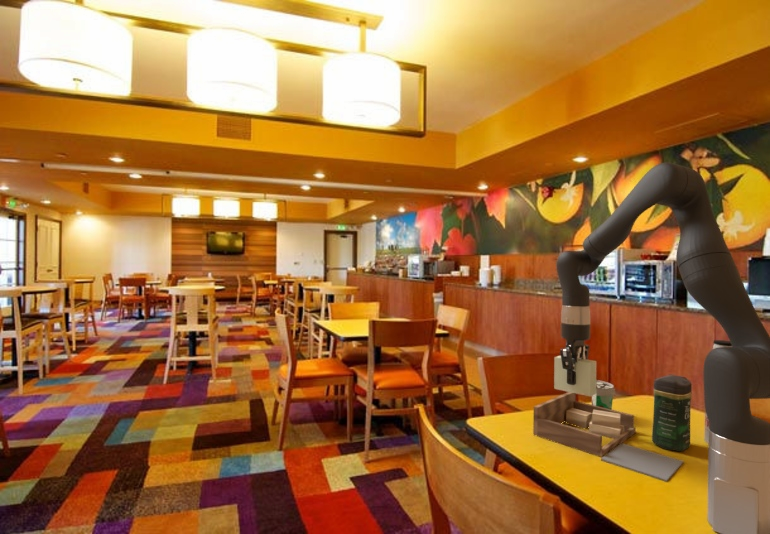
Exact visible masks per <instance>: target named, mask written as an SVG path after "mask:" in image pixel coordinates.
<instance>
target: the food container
mask: <svg viewBox="0 0 770 534" xmlns="http://www.w3.org/2000/svg"><path fill="white" fill-rule="evenodd" d="M614 395H616V389H615V387H614V384H612V383H610V382H607V381H603V380H599V379H598V380H597V379H596V394H595V395H592V396H591V405H595V406H599V407H603V408H607V409H611V410H613V409H612V408H613V399H614Z"/></svg>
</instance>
